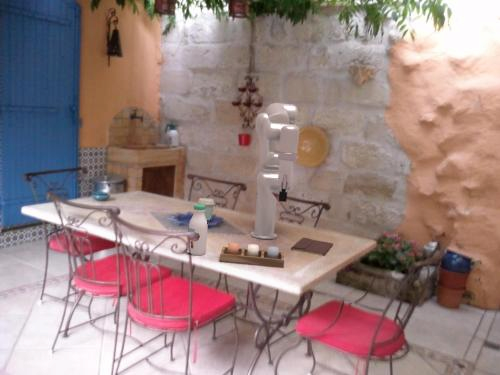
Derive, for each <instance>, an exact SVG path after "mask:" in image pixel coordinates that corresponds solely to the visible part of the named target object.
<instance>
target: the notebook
mask: <svg viewBox="0 0 500 375" xmlns="http://www.w3.org/2000/svg"><path fill="white" fill-rule="evenodd" d="M333 246H334V243H332V242H327V241H323V240H318V239H311V238H309V237H302V238H301V239H299V241H297V242H296V243H295V244H294V245H293V246H291V248H290V250H291V251H296V252H301V253H305V252H306V253H307V254H312V255H316V254H317V255H318V256H321V255H322V256H323V257H325V256H326V255H327V253H329V251H330V250H331V249H332V247H333ZM330 248H331V249H330ZM317 255H316V256H317ZM322 256H321V257H322Z"/></svg>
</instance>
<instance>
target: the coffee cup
mask: <svg viewBox="0 0 500 375" xmlns="http://www.w3.org/2000/svg"><path fill="white" fill-rule="evenodd" d="M214 200H215V199H213V198H208V197H201V198H199V199H198V202H197V204H202V205H205V211H204V214H205V218H206V220H210V219H211V220H212V217H213V212H214V206H215V201H214Z"/></svg>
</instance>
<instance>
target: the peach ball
mask: <svg viewBox="0 0 500 375" xmlns="http://www.w3.org/2000/svg"><path fill="white" fill-rule="evenodd" d="M227 247H228V250H227V254H233V255H238V250H239V248H240V244H239V243H238V242H235V241H234V242H233V241H232V242H231V241H230V242H227Z"/></svg>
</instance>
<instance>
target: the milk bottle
mask: <svg viewBox="0 0 500 375" xmlns="http://www.w3.org/2000/svg"><path fill="white" fill-rule="evenodd" d="M204 211H205V205H202V204H199V203H196V204H194V205H193V215H192V217H191V218H190V219H189V224H188V229H187V233H188V232H196V233H199V235H200V238H199V240H198V241H196V242H193V241H191V242H190V243H191V254H192V256H203V255H205V254H206V252H207V241H208V229H209V228H208V224H207V220H206V218H205V214H204ZM191 254H190V255H191Z"/></svg>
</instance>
